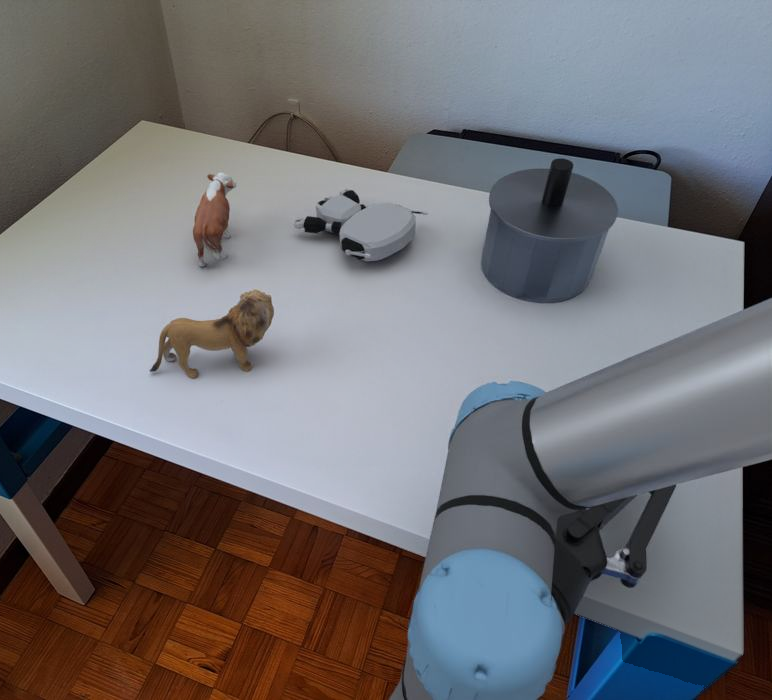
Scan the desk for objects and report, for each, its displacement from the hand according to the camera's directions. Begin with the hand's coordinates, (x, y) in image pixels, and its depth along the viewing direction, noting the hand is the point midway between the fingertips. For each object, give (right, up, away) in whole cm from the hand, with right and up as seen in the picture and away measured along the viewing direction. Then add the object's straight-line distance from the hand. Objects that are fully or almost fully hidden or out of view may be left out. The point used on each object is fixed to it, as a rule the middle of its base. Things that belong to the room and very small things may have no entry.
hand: (631, 402), depth 63 cm
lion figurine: (-40, +4, +15) cm, 43 cm away
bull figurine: (-42, +19, +31) cm, 55 cm away
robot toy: (-23, +20, +30) cm, 43 cm away
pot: (-1, +15, +25) cm, 29 cm away
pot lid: (-1, +22, +18) cm, 28 cm away
